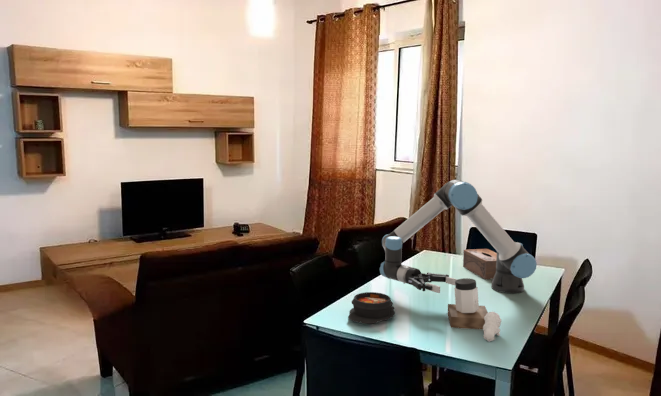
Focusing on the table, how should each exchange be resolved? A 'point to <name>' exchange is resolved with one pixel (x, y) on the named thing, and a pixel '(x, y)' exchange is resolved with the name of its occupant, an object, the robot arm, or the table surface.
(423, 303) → the table surface
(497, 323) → the white animal figurine
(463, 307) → the jar
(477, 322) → the walnut block
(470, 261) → the tissue box cover
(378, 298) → the casserole
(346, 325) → the table surface
